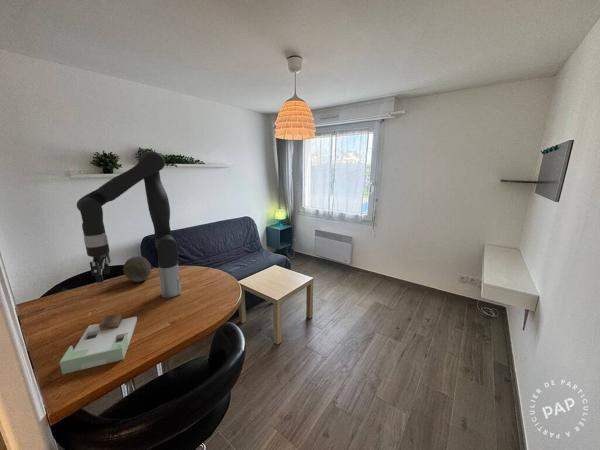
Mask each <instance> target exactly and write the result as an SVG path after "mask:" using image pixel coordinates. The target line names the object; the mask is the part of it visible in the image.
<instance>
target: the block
mask: <svg viewBox="0 0 600 450" xmlns="http://www.w3.org/2000/svg"><path fill="white" fill-rule="evenodd" d="M122 319H123V317H122V313H116V314H110V315H104V316H103V317H102V319H101V321H100V324H99V323H98V324H99V327H100V331H104V330H109V329H114V328H118V327H119V325H120V322H121V320H122Z"/></svg>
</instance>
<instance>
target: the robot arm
mask: <svg viewBox="0 0 600 450" xmlns="http://www.w3.org/2000/svg"><path fill="white" fill-rule="evenodd" d="M165 166H166V160H165V157H164V156H163V155H162V153H161V154H160V153H159V152H156V151H145V152H142V153H140V155H139V156H138V163H137V164H135V165H133V167H131V168H129V169H128V170H126V171H124V172H122V173H120V174H119V175H117V176H115V177H113V178H111V179H110V180H108V181H107V182H105V183H103V184H102V185H101V186H99V187H98V188H97V189H95V190H93V191H91V192H89V193H86V194H85V195H83V196H82V197H81V198H80V199H78V200H77V202H76V209H78V211H79V212H80V215H81V220H82V224H81V228H82V233H83V241H84V242H83V243H84V246H85V251H86V255H87V257H90V258H93V259H92V261H90V262H89V266H90V267H89V268H90V271H91V272H90V273H91V276H93V277H94V276H95V281H96V283H98V284H99V283H103V282H104V276H103V274H104V275H109V274H111V271H110V265H111V264H110V263H111V257H110V250H111V249H110V245H109V241H108V236H107V234H106V229H105V224H104V211H103V206H104V205H105V204H107V203H109V202H113V201H114V200H116V199H118V198H119V197H120V196H121V195H123V194H124V193H126V192H128V190H130V189H131V188H132V187H134V186H135V185H137V184H138V183H140V182H141V181H142V180H143V182H144V190H145V196H146V201H147V207H148V211H149V216H150V219H151V222H152V226H153V231H154V245H155V248H156V250H157V259H158V261H157V265H158V274H159V281H160V282H159V283H160V289H161V290H160V291H161V296H162V298H166V299H169V298H174V297H178V296H179V295H181V293H182V287H181V277H180V271H179V250H178V249H179V248H178V243H177V241H176V239H174V237H173V234H172V230H171V226H170V222H171V221H170V220H171V207H170V202H169V197H168V193H167V192H166V189H165V188H164V185H163V183H162V180H161V173H160V171H162V170H163V169H164V167H165Z"/></svg>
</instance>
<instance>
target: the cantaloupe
mask: <svg viewBox="0 0 600 450" xmlns="http://www.w3.org/2000/svg"><path fill="white" fill-rule="evenodd" d="M122 271H123V274H124V276H125V277H126V278H127V279H128V280H129V281H131V282H135V283H140V282H144V281H145V280H147V279H148V278H149V276H150V275H151V272H152V265H151V263H150V262H149V260H148V259H147V258H145V257H144V256H139V255H138V256H133V257H131V258H129V259H127V260H126V261H125V262H124V265H123V269H122Z"/></svg>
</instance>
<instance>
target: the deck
mask: <svg viewBox="0 0 600 450" xmlns="http://www.w3.org/2000/svg"><path fill="white" fill-rule="evenodd" d="M137 322H138V317H137V316H132V317H128V318H122V320H121V322H120V325H119V327H118V328H114V329H109V330H104V331H100V327H99V324H100V323H101V322H100V323H95V324H91V325H88V327H87V328H86V329H85V331H84V333H83V334H82V336H81V338H80V339H79V341H78V343H77V344H76V345H75V347H74V346H73V345H70V346H69V347H68V348H67V350H66V352H64V354H63V356H62V358H61V359H60V361H59V367H60V369H61V374H62V375H65V374H66V375H67V374H70V373H73V372H74V373H75V372H79V371H82V370H86V369H90V368H94V367H98V366H102V365H106V364H110V363H111V364H112V363H115V362H119V361H123V360H124V359H125V356H126V354H127V350H128V348H129V345H130V342H131V339H132V337H133V334H134V331H135V328H136V325H137Z"/></svg>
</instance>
